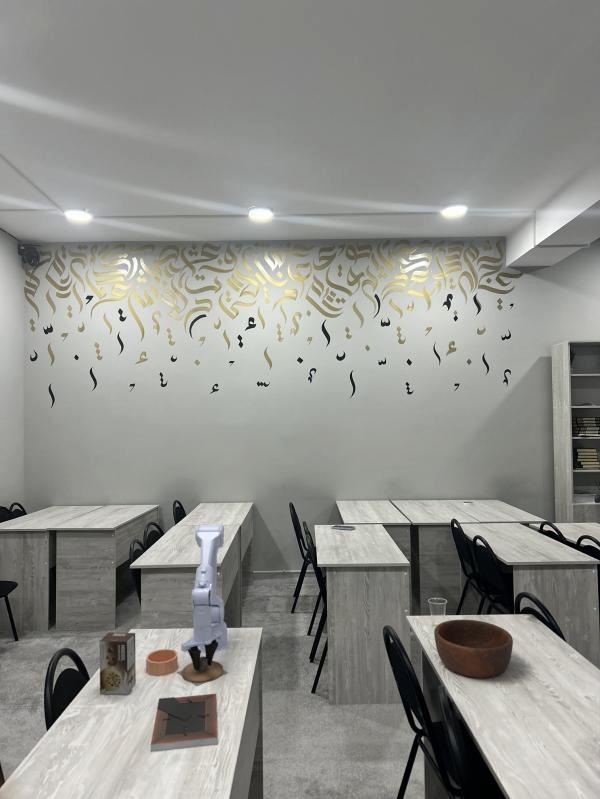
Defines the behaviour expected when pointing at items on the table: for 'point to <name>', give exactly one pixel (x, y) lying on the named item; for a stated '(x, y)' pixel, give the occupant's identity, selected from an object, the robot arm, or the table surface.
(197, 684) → the mat
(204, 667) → the lid
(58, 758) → the table surface
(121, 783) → the table surface
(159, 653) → the bowl
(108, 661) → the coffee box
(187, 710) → the picture frame
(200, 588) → the robot arm
